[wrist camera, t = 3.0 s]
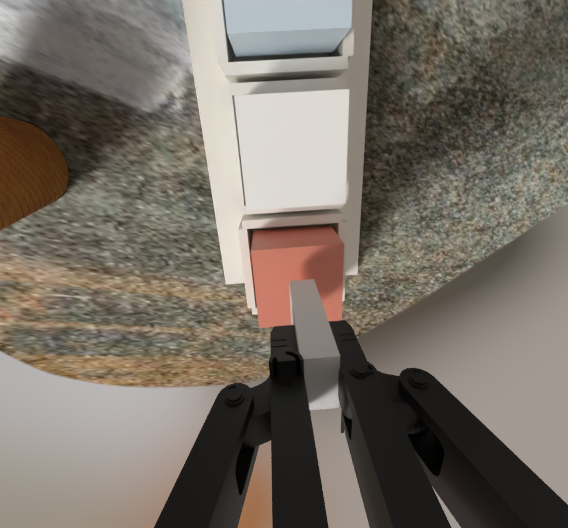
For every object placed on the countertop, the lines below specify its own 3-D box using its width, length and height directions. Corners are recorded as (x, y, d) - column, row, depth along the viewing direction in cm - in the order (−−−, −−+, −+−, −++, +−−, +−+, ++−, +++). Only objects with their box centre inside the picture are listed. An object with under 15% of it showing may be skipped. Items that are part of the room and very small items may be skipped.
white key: (240, 104, 17) (233, 95, 14) (331, 99, 18) (349, 89, 14) (250, 197, 20) (246, 210, 16) (330, 191, 20) (345, 204, 16)
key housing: (177, -53, 17) (145, -120, 13) (370, -61, 18) (406, -129, 13) (228, 286, 27) (220, 316, 22) (353, 277, 27) (371, 305, 23)
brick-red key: (253, 230, 21) (250, 250, 17) (330, 225, 21) (344, 243, 17) (260, 297, 23) (259, 327, 19) (329, 292, 23) (341, 321, 19)
